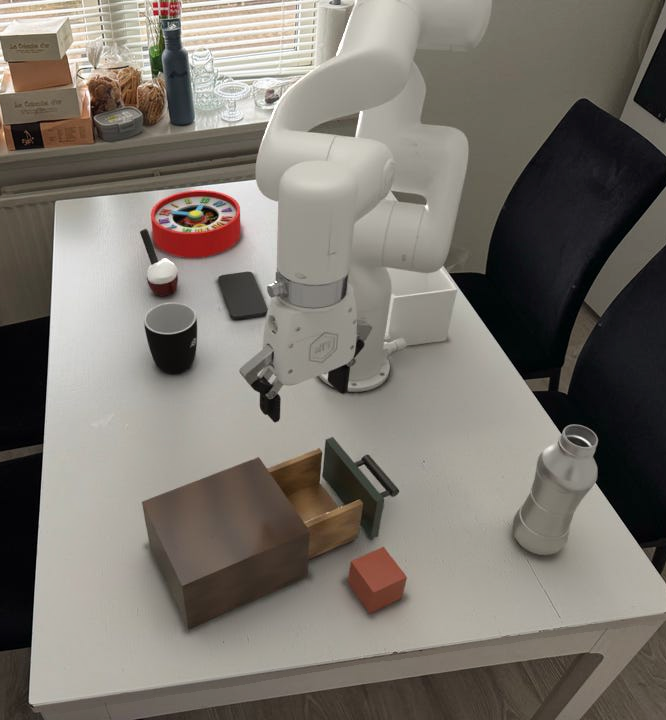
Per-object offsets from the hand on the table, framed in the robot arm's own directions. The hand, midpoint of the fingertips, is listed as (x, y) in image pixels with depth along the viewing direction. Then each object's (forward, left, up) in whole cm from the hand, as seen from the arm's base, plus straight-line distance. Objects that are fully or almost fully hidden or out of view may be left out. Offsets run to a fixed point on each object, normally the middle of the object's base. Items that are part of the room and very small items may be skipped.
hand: (304, 400), depth 83 cm
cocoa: (-3, -60, -21) cm, 64 cm away
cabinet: (+13, +3, -21) cm, 25 cm away
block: (-2, +15, -21) cm, 26 cm away
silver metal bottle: (-25, +18, -21) cm, 38 cm away
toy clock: (-18, -77, -21) cm, 82 cm away
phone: (-16, -50, -21) cm, 57 cm away
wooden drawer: (-1, +3, -20) cm, 21 cm away
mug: (+3, -39, -21) cm, 44 cm away
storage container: (-40, -34, -21) cm, 57 cm away
